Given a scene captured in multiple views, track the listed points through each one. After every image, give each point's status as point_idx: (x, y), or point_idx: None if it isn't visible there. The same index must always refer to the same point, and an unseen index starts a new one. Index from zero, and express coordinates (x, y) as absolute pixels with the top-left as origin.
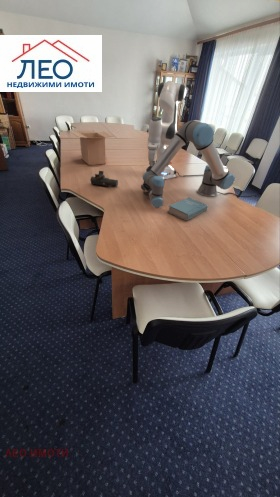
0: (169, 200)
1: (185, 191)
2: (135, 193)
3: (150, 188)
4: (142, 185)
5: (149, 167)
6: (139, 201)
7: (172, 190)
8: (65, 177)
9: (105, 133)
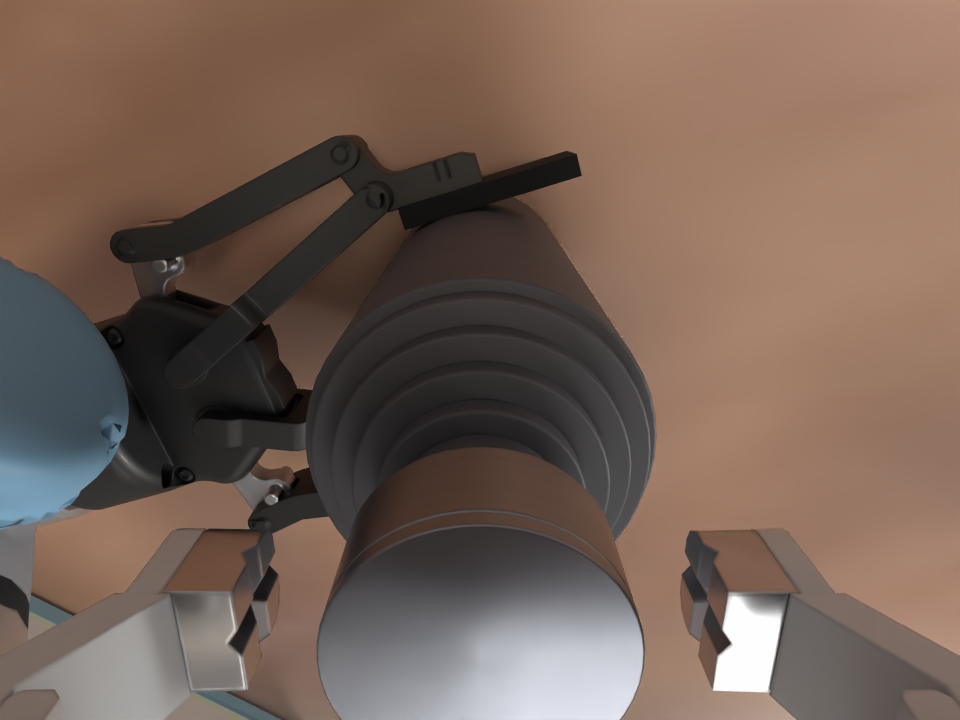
0: (317, 555)
1: (680, 709)
2: (377, 31)
3: (167, 363)
4: (313, 171)
5: (416, 421)
6: (88, 167)
7: (677, 571)
8: None
9: None
